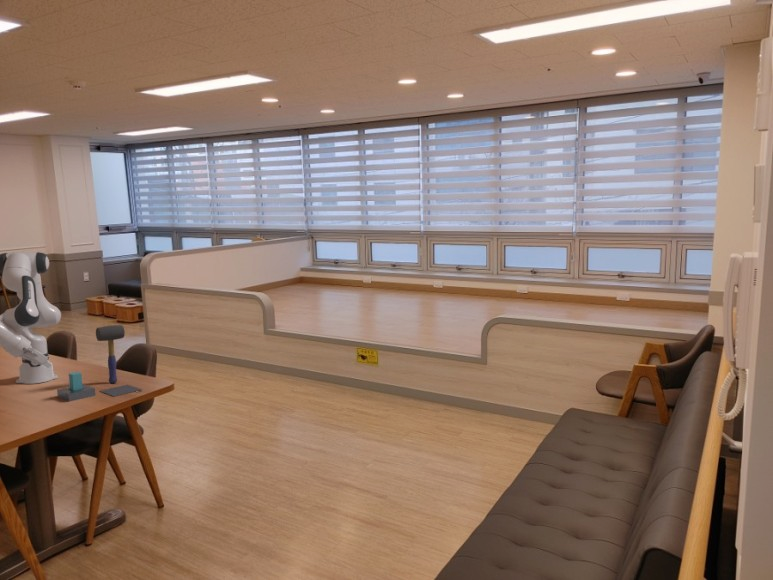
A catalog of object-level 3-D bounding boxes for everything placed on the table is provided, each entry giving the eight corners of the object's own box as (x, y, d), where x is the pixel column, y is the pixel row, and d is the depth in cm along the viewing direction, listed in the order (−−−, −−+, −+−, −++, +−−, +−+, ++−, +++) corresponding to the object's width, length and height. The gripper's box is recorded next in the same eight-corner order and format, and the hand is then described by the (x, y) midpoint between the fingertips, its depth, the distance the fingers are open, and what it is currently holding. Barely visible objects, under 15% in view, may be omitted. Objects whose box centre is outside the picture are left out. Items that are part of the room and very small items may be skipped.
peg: (70, 396, 271) (68, 373, 270) (79, 394, 274) (77, 371, 273) (74, 397, 269) (72, 374, 267) (82, 395, 272) (81, 373, 270)
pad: (99, 392, 279) (99, 390, 279) (127, 386, 290) (127, 384, 290) (113, 397, 270) (113, 396, 270) (142, 391, 281) (142, 389, 281)
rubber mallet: (123, 379, 301) (120, 323, 298) (128, 382, 296) (125, 325, 292) (98, 384, 293) (94, 326, 290) (102, 387, 288) (98, 328, 284)
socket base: (57, 397, 271) (57, 389, 270) (83, 391, 280) (83, 383, 279) (69, 402, 263) (68, 394, 263) (95, 396, 273) (95, 388, 272)
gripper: (34, 344, 246) (60, 362, 255) (15, 338, 259) (41, 356, 267) (23, 356, 243) (50, 374, 252) (5, 350, 256) (31, 367, 264)
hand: (45, 364), depth 260 cm, fingers open, 8 cm apart
